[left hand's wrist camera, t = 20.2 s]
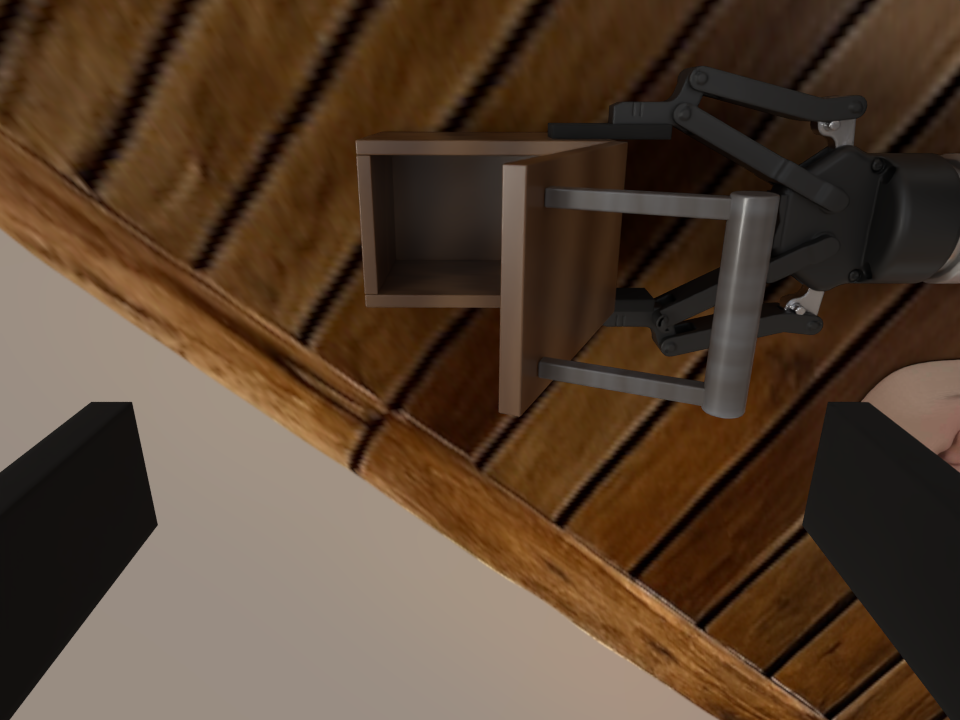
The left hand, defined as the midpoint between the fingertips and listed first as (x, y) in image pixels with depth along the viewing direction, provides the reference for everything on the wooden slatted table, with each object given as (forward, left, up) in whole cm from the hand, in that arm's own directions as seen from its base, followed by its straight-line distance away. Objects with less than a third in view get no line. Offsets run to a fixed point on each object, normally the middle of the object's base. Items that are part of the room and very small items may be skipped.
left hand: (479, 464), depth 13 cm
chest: (0, 0, -35) cm, 35 cm away
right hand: (-2, +3, -28) cm, 29 cm away
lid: (-2, +3, -18) cm, 19 cm away
